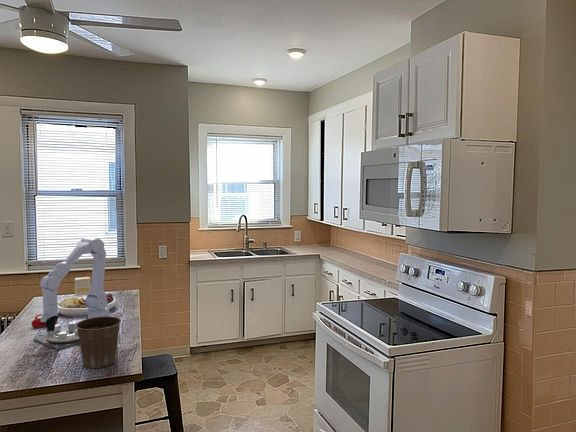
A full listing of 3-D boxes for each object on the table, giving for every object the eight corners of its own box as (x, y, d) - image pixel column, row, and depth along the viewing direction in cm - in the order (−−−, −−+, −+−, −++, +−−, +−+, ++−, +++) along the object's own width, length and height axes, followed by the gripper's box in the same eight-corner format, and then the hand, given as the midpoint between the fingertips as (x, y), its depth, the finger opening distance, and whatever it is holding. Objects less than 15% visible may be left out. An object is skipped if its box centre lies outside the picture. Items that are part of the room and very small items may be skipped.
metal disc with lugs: (54, 330, 203) (53, 322, 203) (92, 329, 206) (92, 321, 206) (40, 343, 187) (40, 334, 186) (82, 342, 190) (82, 333, 190)
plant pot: (71, 373, 162) (70, 330, 160) (81, 356, 177) (80, 317, 176) (118, 369, 165) (117, 327, 164) (123, 353, 181) (123, 315, 180)
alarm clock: (59, 312, 225) (53, 314, 211) (59, 324, 224) (52, 327, 210) (37, 313, 222) (28, 315, 208) (36, 326, 221) (28, 329, 207)
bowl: (62, 321, 222) (62, 306, 221) (50, 308, 245) (50, 294, 245) (122, 312, 241) (122, 297, 240) (106, 300, 264) (105, 287, 264)
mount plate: (77, 328, 211) (76, 326, 210) (101, 337, 199) (101, 334, 199) (33, 340, 194) (33, 337, 194) (57, 350, 183) (57, 347, 183)
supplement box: (89, 297, 269) (89, 276, 268) (90, 299, 264) (90, 278, 264) (74, 299, 264) (74, 277, 264) (75, 301, 260) (75, 279, 259)
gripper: (47, 298, 200) (48, 327, 201) (32, 307, 186) (33, 339, 187) (64, 298, 201) (64, 327, 202) (50, 307, 186) (51, 338, 187)
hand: (50, 333), depth 194 cm, fingers closed, pressing on metal disc with lugs
